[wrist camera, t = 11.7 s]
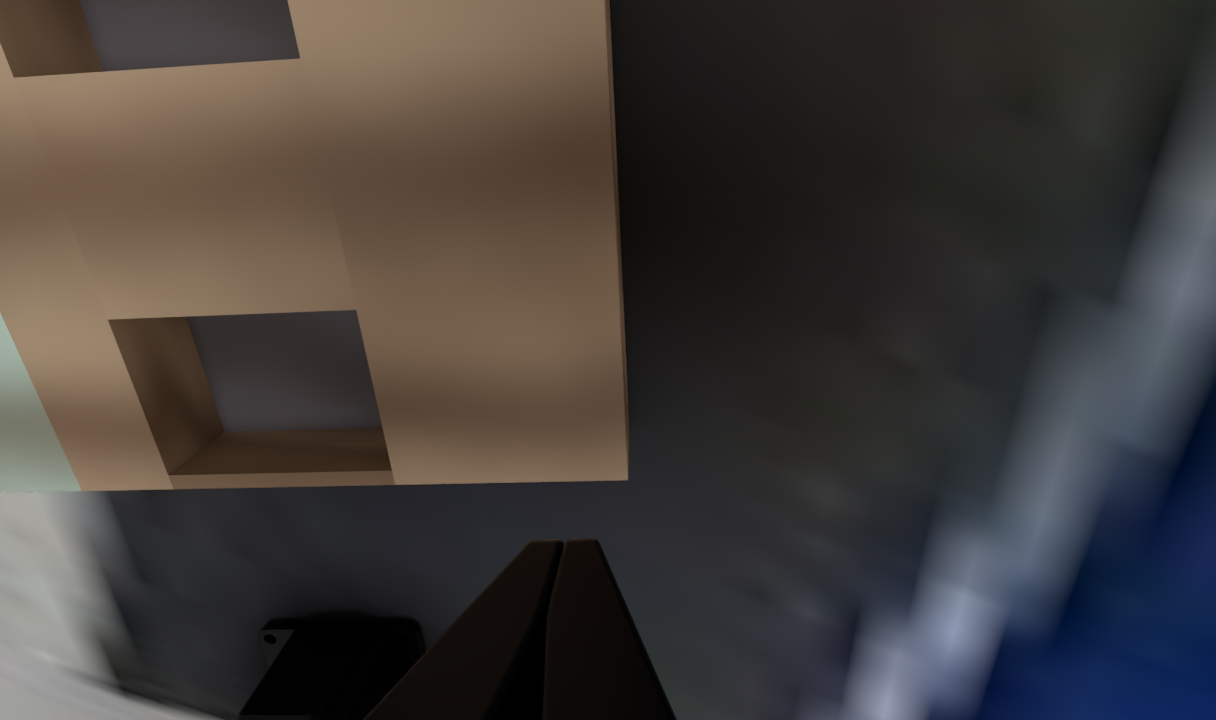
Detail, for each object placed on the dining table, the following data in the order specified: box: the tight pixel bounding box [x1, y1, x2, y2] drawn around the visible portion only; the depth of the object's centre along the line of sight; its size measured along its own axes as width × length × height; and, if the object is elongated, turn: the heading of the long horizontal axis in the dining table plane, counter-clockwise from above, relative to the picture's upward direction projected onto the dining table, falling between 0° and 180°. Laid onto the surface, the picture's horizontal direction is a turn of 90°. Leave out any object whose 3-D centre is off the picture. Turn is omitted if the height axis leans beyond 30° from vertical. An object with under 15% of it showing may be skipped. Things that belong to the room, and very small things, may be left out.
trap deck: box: [0, 0, 629, 493], centre depth 16 cm, size 17×29×5 cm, turn 93°
